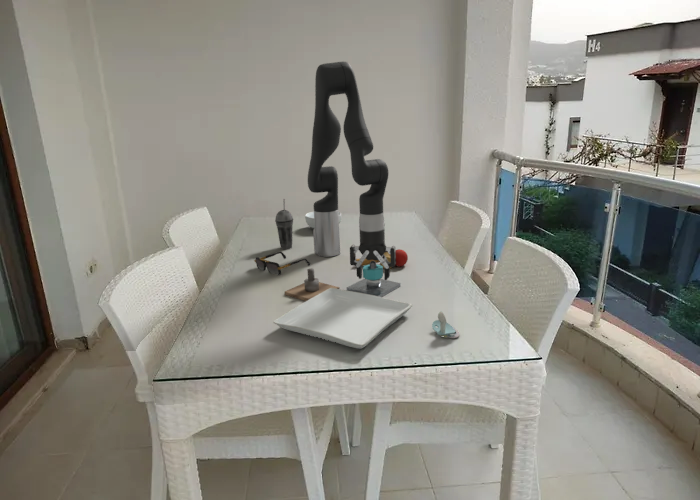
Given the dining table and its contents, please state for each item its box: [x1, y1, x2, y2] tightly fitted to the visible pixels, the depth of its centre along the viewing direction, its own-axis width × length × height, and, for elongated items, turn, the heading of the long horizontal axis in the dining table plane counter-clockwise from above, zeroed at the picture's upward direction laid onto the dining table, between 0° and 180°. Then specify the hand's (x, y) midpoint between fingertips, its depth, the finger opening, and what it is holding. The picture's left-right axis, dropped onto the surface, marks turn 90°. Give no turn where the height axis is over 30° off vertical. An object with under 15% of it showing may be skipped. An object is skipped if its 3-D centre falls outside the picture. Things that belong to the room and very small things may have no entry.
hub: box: [346, 261, 401, 297], centre depth 151 cm, size 12×12×9 cm
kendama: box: [356, 249, 409, 270], centre depth 171 cm, size 8×6×18 cm
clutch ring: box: [362, 263, 384, 280], centre depth 150 cm, size 6×6×3 cm
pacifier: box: [431, 311, 460, 339], centre depth 120 cm, size 7×6×6 cm
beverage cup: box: [274, 198, 294, 250], centre depth 195 cm, size 7×7×20 cm
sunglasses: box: [253, 251, 311, 276], centre depth 175 cm, size 14×15×5 cm
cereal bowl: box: [304, 211, 342, 229], centre depth 225 cm, size 17×17×7 cm
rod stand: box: [284, 268, 340, 302], centre depth 150 cm, size 12×12×8 cm
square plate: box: [272, 288, 413, 350], centre depth 129 cm, size 27×27×4 cm
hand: (373, 278), depth 151 cm, fingers open, 7 cm apart
